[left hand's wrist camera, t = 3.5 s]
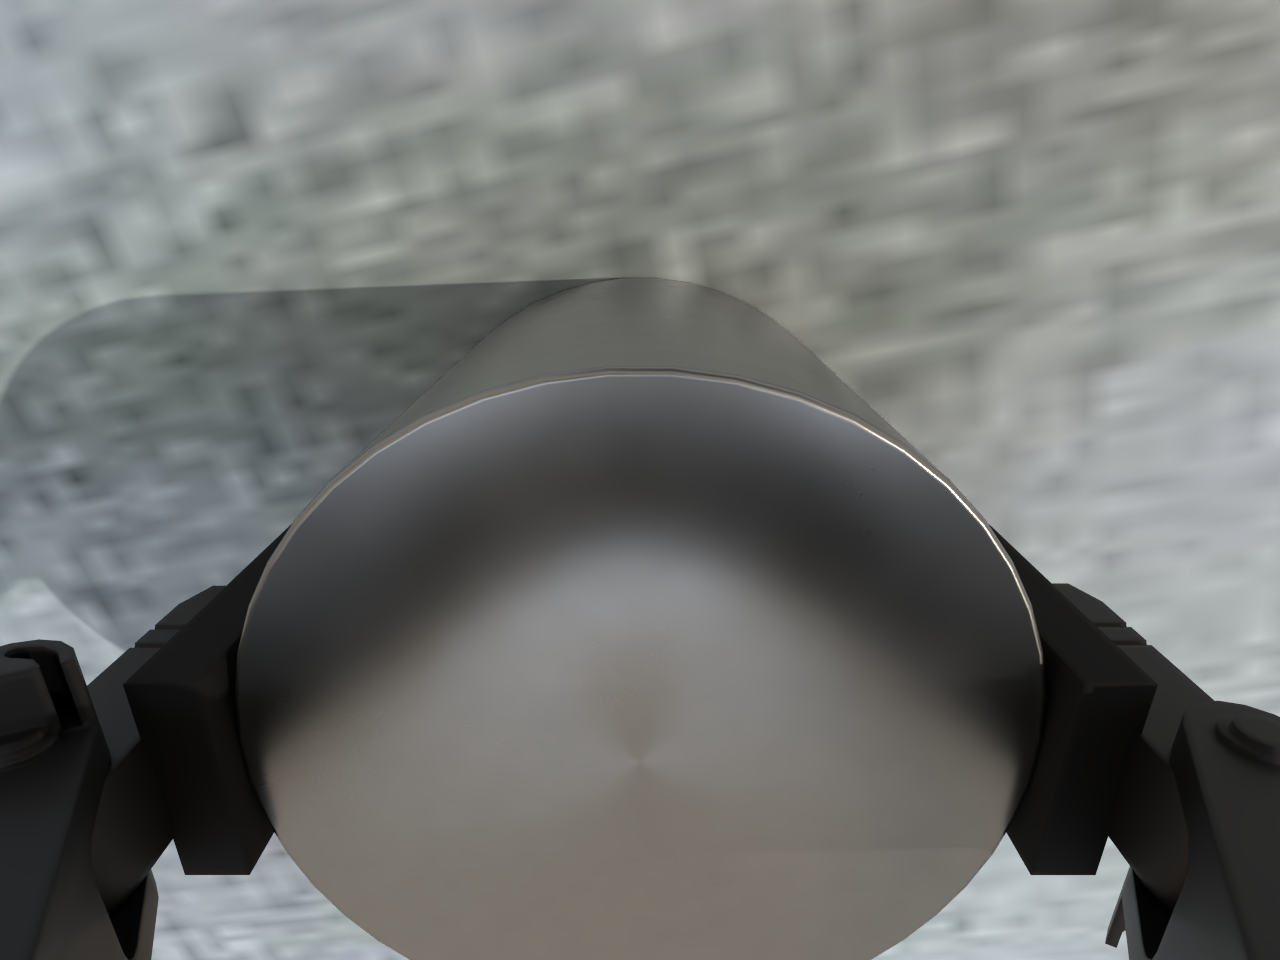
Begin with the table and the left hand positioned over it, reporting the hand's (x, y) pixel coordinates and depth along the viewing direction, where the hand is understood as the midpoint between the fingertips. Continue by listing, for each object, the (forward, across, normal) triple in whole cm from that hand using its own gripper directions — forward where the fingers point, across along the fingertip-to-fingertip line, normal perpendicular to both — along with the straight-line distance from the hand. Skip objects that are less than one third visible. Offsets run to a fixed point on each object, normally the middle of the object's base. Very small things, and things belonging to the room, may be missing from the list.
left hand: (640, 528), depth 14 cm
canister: (+1, 0, 0) cm, 1 cm away
